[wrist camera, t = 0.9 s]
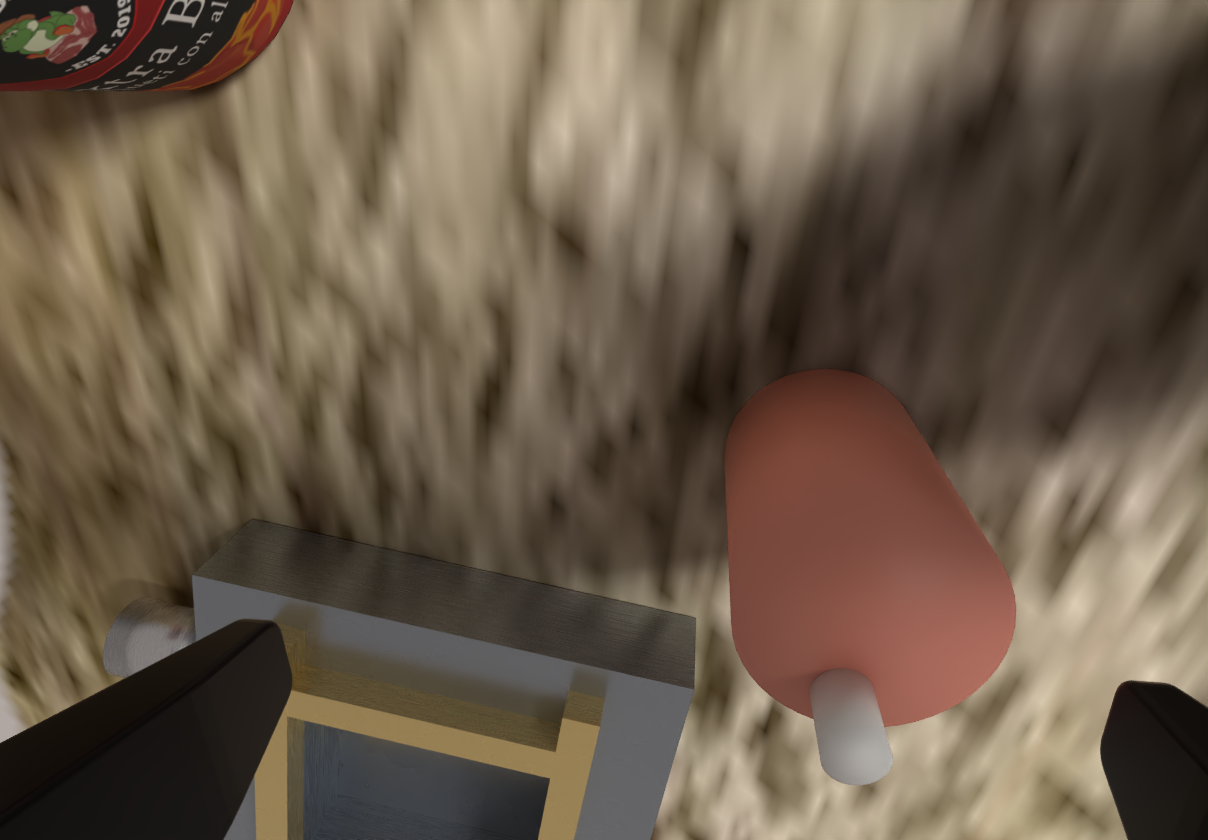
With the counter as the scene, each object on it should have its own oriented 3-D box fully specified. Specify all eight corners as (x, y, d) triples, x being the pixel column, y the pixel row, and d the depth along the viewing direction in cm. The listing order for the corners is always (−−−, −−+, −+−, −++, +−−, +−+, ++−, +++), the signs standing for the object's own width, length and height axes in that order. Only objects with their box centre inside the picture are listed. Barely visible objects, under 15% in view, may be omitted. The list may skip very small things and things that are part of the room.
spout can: (944, 391, 19) (1109, 597, 11) (881, 553, 21) (983, 824, 13) (750, 351, 19) (778, 525, 11) (706, 516, 21) (703, 759, 14)
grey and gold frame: (695, 618, 23) (693, 718, 19) (614, 910, 28) (600, 1029, 25) (160, 498, 24) (59, 572, 20) (186, 806, 29) (111, 907, 26)
